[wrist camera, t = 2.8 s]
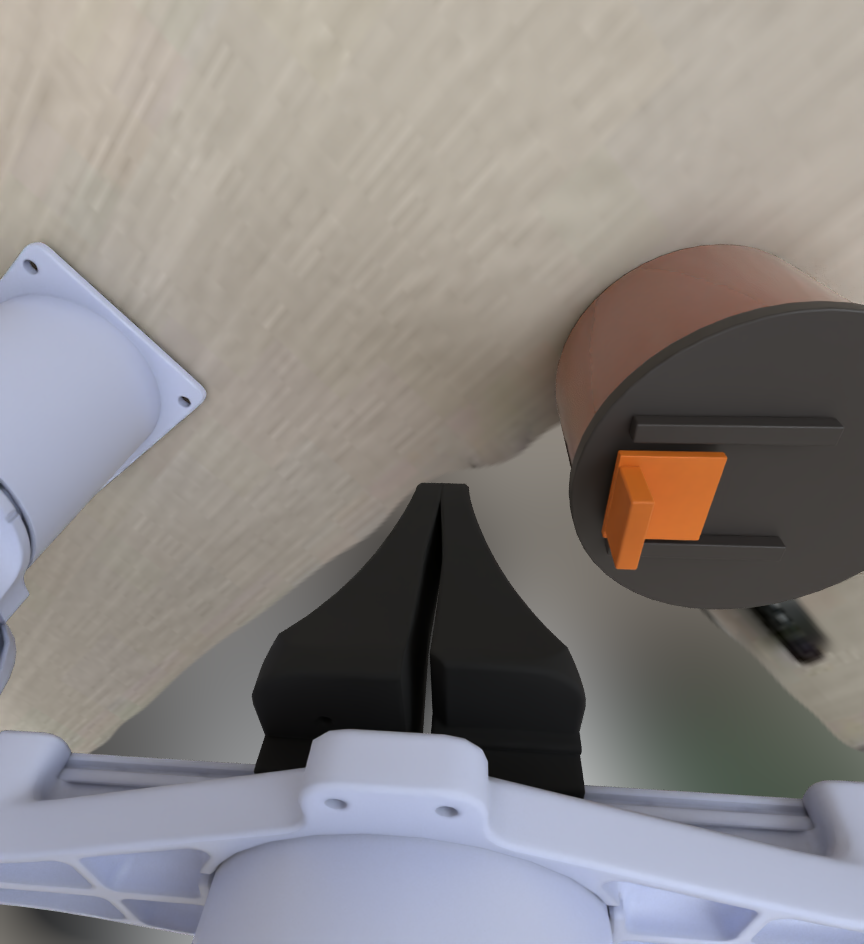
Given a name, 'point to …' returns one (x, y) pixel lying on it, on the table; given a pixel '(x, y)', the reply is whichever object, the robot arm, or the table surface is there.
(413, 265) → the table surface
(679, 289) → the lidded cup
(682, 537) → the slider
